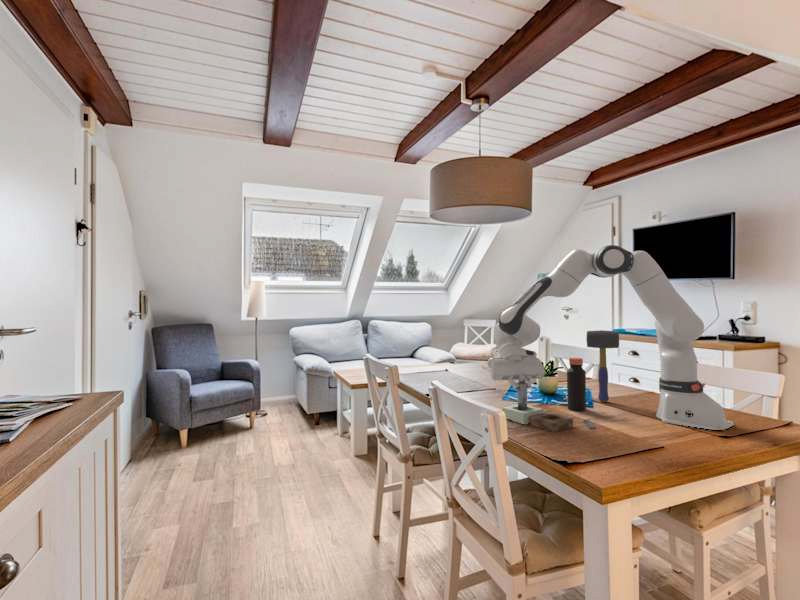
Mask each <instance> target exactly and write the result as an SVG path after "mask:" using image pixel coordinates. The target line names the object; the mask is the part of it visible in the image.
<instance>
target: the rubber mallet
mask: <svg viewBox="0 0 800 600" xmlns="http://www.w3.org/2000/svg"><path fill="white" fill-rule="evenodd" d="M586 347H587V348H593V349H599V367H598V372H597V373H598V374H597V376H598V377H597V378H598V388H599V389H598V395H597V396H598V397H597V398H598V400H599V402H601V403H608V401H609V399H610V398H609V393H608V392H609V389H608V384H609V383H608V382H609V371H608V367H607V349H619V348H620V333H619V331H615V330H587V331H586Z"/></svg>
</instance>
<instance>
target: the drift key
mask: <svg viewBox="0 0 800 600" xmlns="http://www.w3.org/2000/svg"><path fill="white" fill-rule="evenodd" d="M582 422H583V424H584V425H585V426H586V427H587V428H588V429H589V430H596V429H597V428H596V425H595V424H594V423H593V422H592V421H591V420H590V419H583V421H582Z"/></svg>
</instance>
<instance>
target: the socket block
mask: <svg viewBox="0 0 800 600" xmlns="http://www.w3.org/2000/svg"><path fill="white" fill-rule="evenodd" d="M529 425H530V426H533V427H536V428H539V427H540V429H542V428H543V430H545V429H547V430H546V431H549V430H550V431H549V432H552V433H555V431H556V432H560V431H562V430H567V429H570V428H573V427H574V418H573V417H571V416H566V415H562V414H560V413H555V412H551V411H547V412H543V413H541V414H537V415H533V416H530V424H529Z"/></svg>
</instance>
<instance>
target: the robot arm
mask: <svg viewBox="0 0 800 600" xmlns="http://www.w3.org/2000/svg"><path fill="white" fill-rule="evenodd" d="M619 274H620V275H622V276H624V277H625V278H626V279H627V280H628V282H629V283H630V285H631V286H632V288H633V290H634V291H635V293H636V294H637V296H638V298H639V299H640V301H641V303H642V304H643V305H644V306H645V307H646V308H647V309H648V310H649V312H650V314H652V316H653V317H654V318H655V320H654V326H655V331H656V338H657V345H658V351H659V360H660V361H659V362H660V366H659V367H660V377H659V382H658V383H659V384H658V386H659V387H658V388H659V400H658V401H659V402H658V406H657V411H656V414H655V417H657V418H658V419H660V420H661V421H662V422H663V423H665V424H673V425H677V426H682V425H683V427H688V426H690V427H689V428H694V427H697V428H696V429H699V428H704V429H703V430H705V429H713V430H716V429H726V428H729V427H731V426H733V425H734V422H733V421H731V420H727V419H726V415H725V411H724V408H723V406H722V405H721V404H720V403H719V402H717V401H715V400H714V399H713V398H712V397H710V396H709V395H708V394H706V392H705V391H704V388H706V383H701V382H700V381H699V380H698V358H697V355H696V353H695V349H694V344H693V341H695V340H698V339H699V338H701V336H702V335H703V333H704V330H705V324H704V321H703V320H702V318H700V316H699V315H698V314H697V313H696V312H695V311H694V310H693V308H692V307H691V306H690V305H689V303H687V301H686V300H685V299H684V298H683V297H682V296H681V295H680V294H679V292H678V291H677V290H676V289H675V287H674V286H673V284H672V283H671V282H670V280H669V278H668V277H667V276H666V274H665V272H664V271H663V269H662V268H661V267H660V265H659V264H658V263H657V262H656V260H655V259H654V257H652V255H650V254H649V253H648V252H647V251H644V250H635V251H631V252H630V251H628V250H627V249H625V248H623V247H621V246H619V245H614V244H610V245H609V244H608V245H605V246H604V247H601V248H599V249H597V250H596V251H595V252H594V253H590V252H587V250H586V251H585V250H583V249H579V248H576V249H572V250H571V251H570V252H568V253H567V254H566V255H565V256H564V258H562V260H560V261H559V263H558V264H557V265H556V266H555V268H554V269H553V270H552V271H551V272H550V273H548V274H547V275H546V276H542V277H541V276H540V278H538V279H537V280H536V281H534V283H532V284H531V285H530V286H529V287H528V288H527V289H526V290H525V291H524V292H523V293H522V294H521V295H520V296H519V297H518V298H517V299H516V300H515V301H514V302H513V303H512V304H511V305H509V306H507V307H506V308H505V309H504V310H502V311H501V313H500V314H499V317H498V323H497V324H496V325H495V326H494V329H493V338H494V342H495V345H496V347H497V349H498V355H499V357H490V358H489V359H488V360H487V365H488V367H489V372H490V377H491V379H492V380H493V381H508V383H509V384H510V385H511V386H512V388H513V390H517V389H518V388H519V385H518V383H519V382H516V381H519V373H525V378H526V383H527V390H528V389H530V390H531V389H532V384H531V382H532V380H537V379H538V380H542V379H543V378H544V377H545V375H546V370H545V369H546V368H545V367H544V365H543V363H542V360H541V359H540V358H538V354H537V352H536V351H533V350H530V349H526V348H524V347H526V346H528V345H530V344H532V343H534V342H536V341H537V340H538V339H539V337H540V335H541V326H540V325H539V323H537V322H536V321H535V320H533V319H532V318H531V317H529V316H527V313H528V312H529V311H530V310H531V309H532V308H533V306H535V305H536V304H537V302H539V301H540V300H541V299H542V298H545V297H554V298H566V297H569V296H571V295H572V294H574V293H575V292H576V290H577V289H578V288H579V287H580V286H581V284H582V283H583V281H584V280H585V279H586V278H587V277H588V276H589V275H592V276H595V277H598V278H611V277H614V276H616V275H619ZM733 427H734V426H733Z"/></svg>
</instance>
